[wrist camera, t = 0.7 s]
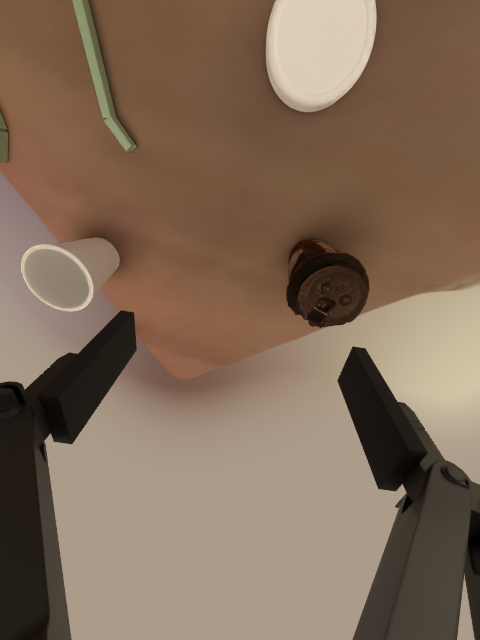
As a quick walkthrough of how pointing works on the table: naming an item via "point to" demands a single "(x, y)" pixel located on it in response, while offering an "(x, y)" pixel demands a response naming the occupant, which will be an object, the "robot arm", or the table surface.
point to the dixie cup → (69, 271)
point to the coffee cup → (325, 284)
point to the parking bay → (98, 78)
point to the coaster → (318, 49)
